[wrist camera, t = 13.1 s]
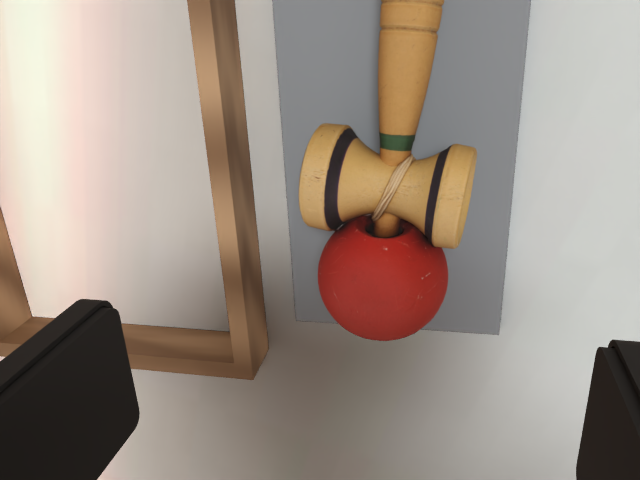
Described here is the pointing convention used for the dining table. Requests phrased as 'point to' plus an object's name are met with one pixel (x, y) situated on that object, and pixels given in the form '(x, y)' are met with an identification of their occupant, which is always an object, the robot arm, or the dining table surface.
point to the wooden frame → (231, 221)
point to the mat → (431, 136)
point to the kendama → (388, 193)
